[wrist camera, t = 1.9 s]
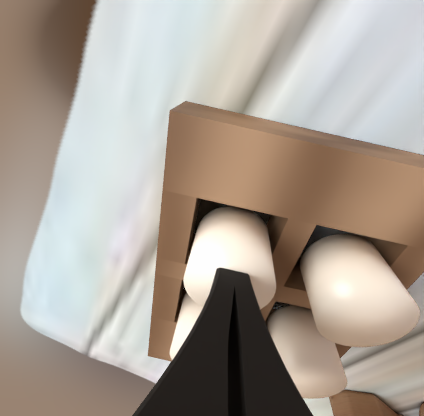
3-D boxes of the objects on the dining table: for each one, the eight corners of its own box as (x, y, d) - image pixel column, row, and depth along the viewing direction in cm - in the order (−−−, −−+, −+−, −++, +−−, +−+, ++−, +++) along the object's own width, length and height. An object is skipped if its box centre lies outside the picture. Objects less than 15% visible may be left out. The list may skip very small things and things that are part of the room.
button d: (338, 313, 15) (361, 373, 12) (312, 345, 17) (327, 403, 14) (278, 299, 15) (286, 356, 12) (259, 333, 17) (263, 389, 14)
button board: (450, 161, 12) (518, 192, 9) (300, 355, 23) (309, 398, 20) (185, 101, 12) (166, 112, 9) (158, 323, 23) (145, 362, 20)
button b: (247, 292, 15) (248, 348, 12) (233, 327, 17) (230, 382, 14) (187, 279, 15) (173, 331, 12) (179, 315, 17) (166, 367, 14)
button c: (394, 243, 12) (443, 302, 9) (354, 293, 14) (383, 354, 11) (317, 226, 12) (342, 279, 9) (289, 278, 14) (301, 335, 11)
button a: (278, 215, 12) (290, 264, 9) (256, 269, 14) (260, 322, 11) (203, 198, 12) (190, 241, 9) (192, 254, 14) (178, 304, 11)
